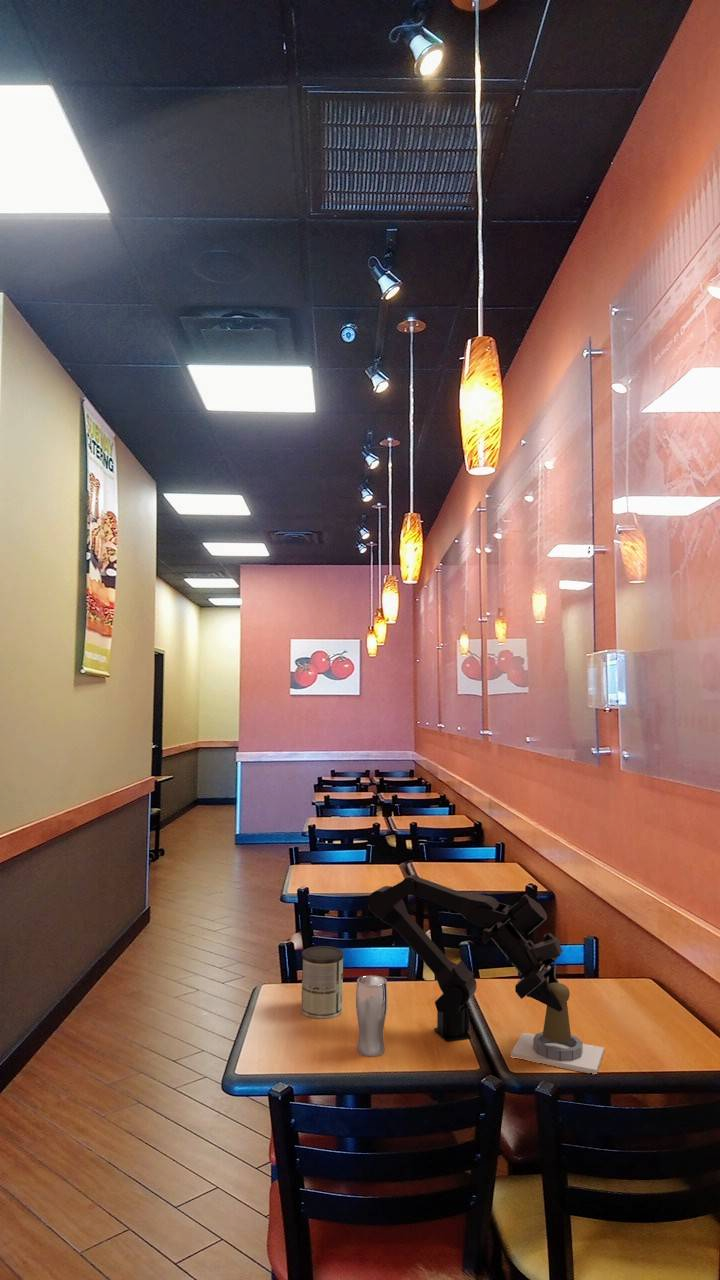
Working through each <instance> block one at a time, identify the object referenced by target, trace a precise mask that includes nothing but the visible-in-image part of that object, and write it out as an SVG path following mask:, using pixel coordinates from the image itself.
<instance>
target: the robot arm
mask: <svg viewBox="0 0 720 1280" xmlns="http://www.w3.org/2000/svg"><path fill="white" fill-rule="evenodd" d="M408 896H414V897H417V898H419V899H422V900H425V901H427V902H430V903H433V904H436V905H438V906H442V907H443V908H447V909H449V910H452V911H455V912H456V913H458V914H460V915H461V916H462V917H463V918H464V919H465V920H466V921H469V922H470V923H472V924H474V925H475V926H477V927H480V928H484V929H483V930H482V934H483V936H482V937H483V938H482V943H483V944H486V943H487V942H489V941H490V940H492V941H493V942H494V943H495V945H496V946H497V947H498V949H500V951H501V952H502V954H503V955H504V956H505V957H506V958H507V959H506V963H507V964H508V965H509V966H510V965H511V964H512V966H513V967H514V968H515V970H517V972H518V973H519V975H518V978H519V980H518V981H517V983H516V984H515V985H514V986H515V993H516V994H517V996H518V997H519V999H521V1000H522V999H524V998H525V997H527V998H532V999H533V1000H536V1001H537V1002H540V1003H541V1004H543V1005H546V1007H547V1006H549V1007H551V1008H553V1009H555V1010H557V1011H559V1012H560V1011H561V1010H562V1009H563V1007H562V1006H561V1004H560V1002H559V1001H558V999H557V998H556V996H555V995H554V993H553V991H552V990H551V988H550V987H549V984H550V983H560V982H559V981H558V978H557V976H556V968H557V963H555V962H556V961H557V959H558V958H559V957H561V954H562V953H563V949H562V945H561V940H560V939H558V937H557V936H554V934H552V933H551V932H549V933H546V934H544V935H543V938H542V939H543V941H540V942H539V943H536V944H535V943H534V942H533V940H531V939H528V940H526V939H525V938H524V936H522V935H523V934H526V935H529V934H531V933H532V932H533V931H534V930H535V929H537V928H538V927H539V926H540V925H541V924H542V923H544V921H546V920H547V919H548V914H547V912H546V911H545V909H544V908H543V906H542V905H541V904H540V903H539V902H537V901H536V900H535V899H533V898H532V897H530V896H529V895H528V894H527V893H526V894H524V895H523V896H522V897H521V898H519V901H517V902H516V903H515V904H514V905H513V906H512V905H509V904H505V903H501V902H499V901H498V900H497V899H496V898H495V897H493V896H491V895H484V894H480V893H479V894H478V893H466V892H461V891H458V890H455V889H453V888H451V887H448V886H445V885H441V884H439V883H437V882H434V881H430V880H428V879H425V878H422V877H420V876H419V875H416V874H411V875H408V876H407V877H405V878H404V879H403V880H402V881H400V882H398V883H397V884H395V885H393V886H391V885H390V886H389V885H384V886H381V887H380V888H378V889H377V890H375V891H373V892H372V893H370V894H369V896H368V898H367V907H368V909H369V911H370V912H371V913H372V914H373V915H374V916H375V917H376V918H378V920H380V921H381V922H383V923H385V924H387V925H389V926H391V927H393V928H394V929H395V930H396V932H397V933H398V934H399V935H400V936H401V937H402V938H403V940H404V941H405V942H406V943H407V944H408V945H409V946H410V948H411V949H412V951H414V952H415V953H416V955H417V956H418V957H419V958H420V959H421V960H422V962H423V963H424V964H425V965H426V967H428V968H429V970H430V971H431V972H432V973H433V975H435V979H436V981H437V984H438V986H439V988H440V991H441V992H442V994H441V995H440V996H439V997H438V998H436V1000H435V1001H434V1004H435V1008H436V1012H437V1013H436V1014H437V1016H436V1023H437V1024H436V1027H433V1031H434V1032H435V1033H436V1034H437V1035H438V1036H439V1037H441V1039H443V1040H444V1041H446V1042H451V1041H457V1040H462V1039H464V1040H465V1039H470V1038H471V1036H472V1035H471V1034H470V1033H469V1032H470V1013H469V1012H468V1009H469V1007H467V1006H466V1004H468V1002H469V1001H470V999H471V998H472V997H473V996H474V994H475V993H476V991H477V980H476V979H475V977H474V976H473V975H475V974H474V972H473V971H471V970H470V969H468V967H467V966H466V964H465V962H463V961H462V960H460V961H459V962H457V963H455V962H453V961H452V960H450V959H449V958H448V957H447V956H446V955H445V954H444V952H442V950H441V949H440V948H439V947H438V946H437V945H436V943H435V942H434V940H432V939H431V937H430V936H429V935H427V933H426V932H425V931H424V930H423V928H421V926H420V925H419V924H418V923H417V922H416V921H415V919H414V918H412V917H411V914H409V912H408V909H407V907H406V904H405V900H403V899H404V898H406V897H408ZM506 918H508V919H507V920H506V921H505V922H504V923H502V922H503V921H504V920H505V919H506ZM494 923H495V924H494ZM492 924H494V925H493V926H491V925H492ZM489 926H491V928H487V927H489ZM552 963H554V964H553V965H552V966H550V965H551V964H552Z"/></svg>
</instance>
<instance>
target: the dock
mask: <svg viewBox="0 0 720 1280" xmlns="http://www.w3.org/2000/svg"><path fill="white" fill-rule="evenodd" d="M582 1041H583V1040H581V1039H580V1038H579V1037H578V1036H575V1035H573V1034H571V1039H570V1040H569V1041H566V1042H556V1041H551V1040H548V1039H546V1038H545V1037H544V1036H543V1031H542V1032H537V1033H536V1034H533V1033H528V1032H527V1033H526V1032H522V1034H521V1035H520V1037H519V1038H518V1040H517V1042H516V1044H515V1045H514V1047H513V1049H512V1050H511V1052H510V1057H511V1056H512V1057H518V1058H522V1059H527V1060H531V1061H535V1062H540V1063H543V1064H542V1065H544V1064H548V1065H547V1066H549V1065H553V1066H552V1067H554V1066H556V1067H555V1068H559V1067H560V1068H559V1069H564V1068H565V1069H566V1070H570V1071H576V1072H580V1073H584V1074H585V1073H586V1074H590V1073H592V1074H591V1075H595V1074H597V1075H598V1073H597V1072H599V1069H600V1067H601V1062H602V1061H603V1057H604V1055H605V1054H604V1053H605V1047H604V1046H597V1045H591V1044H586V1043H584V1042H582Z"/></svg>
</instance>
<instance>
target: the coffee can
mask: <svg viewBox="0 0 720 1280" xmlns="http://www.w3.org/2000/svg"><path fill="white" fill-rule="evenodd" d="M344 952H345V951H343V950H342V949H341V948H339V947H335V946H329V945H319V946H318V945H317V946H311V947H307V948H305V949H303V950H302V952H301V956H302V960H301V961H302V966H301V971H302V972H301V1009H300V1010H301V1011H300V1012H301V1014H302V1015H304V1016H305V1017H308V1018H312V1019H318V1020H319V1019H321V1020H323V1019H332V1018H335V1017H338V1016H340V1015H341V1014H342V1013H343V986H344V985H343V983H344V982H343V976H344V974H343V973H344V956H345V955H344V954H345V953H344Z"/></svg>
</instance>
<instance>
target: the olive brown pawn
mask: <svg viewBox="0 0 720 1280" xmlns="http://www.w3.org/2000/svg"><path fill="white" fill-rule="evenodd" d="M549 987H550V988H551V990H552V991H553V993H554V995H555V996H556V998H557V999H558V1001H559V1002H560V1004H561V1006H562V1007H563V1009H562V1010H561V1011H560V1012H559V1011H557V1010H555V1009H553V1008H551V1007H549V1006H547V1005H546V1010H545V1016H544V1023H543V1024H544V1025H543V1031H542V1032H543V1036H544V1037H545V1038H546V1039H548V1040H551V1041H556V1042H566V1041H569V1040H570V1039H571V1035H572V1033H571V1025H570V1016H569V1008H568V1001H569V1000H570V994H571V993H570V989H569V987H568V986H567V985H566V984H563V983H560V982H559V983H550V984H549Z"/></svg>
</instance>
